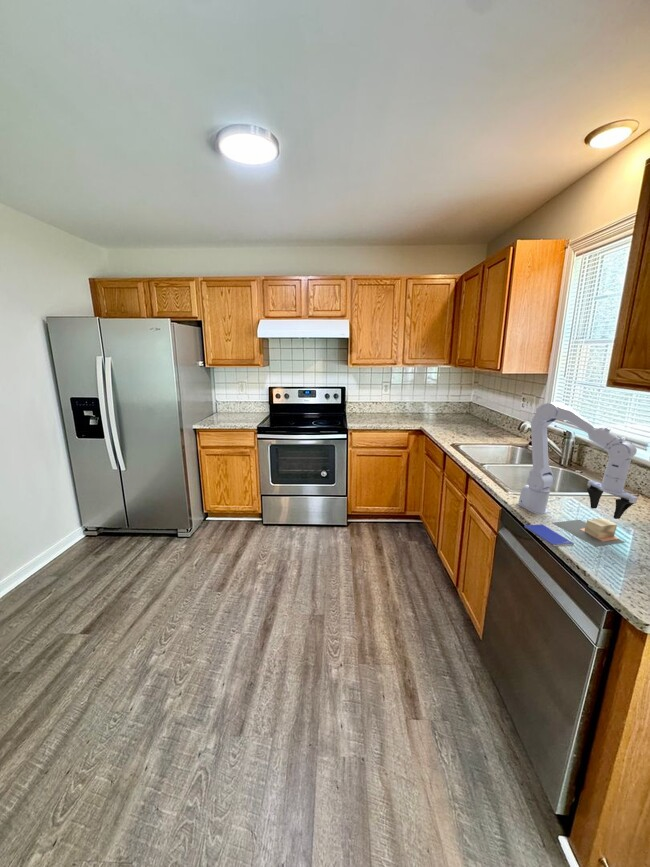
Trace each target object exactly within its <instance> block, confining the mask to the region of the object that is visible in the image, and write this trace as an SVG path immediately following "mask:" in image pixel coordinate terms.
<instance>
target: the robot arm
mask: <svg viewBox="0 0 650 867" xmlns="http://www.w3.org/2000/svg"><path fill="white" fill-rule="evenodd" d="M557 420H559V421H561V420H562V421H567V422H569V423H570V424H572V425H574V426H575V427H577V428H578V429H579V430H582V431H583V432H584V433H586V434H587V435H588V436H587V437H588V439H589V440H590V441H591V442H593V443H595V445H597V446H598V447H599V448H601V449H603V450H604V451H606V452H607V456H608V460H607V463H606V466H605V471H604V474H603V478H602V481H601V482H598V481H595V480H588V481H587V484H586V486H587V489H586V492H587V493H588V497H589V503H590V504H589V505H590V509H593V510H594V509H597V508H598V507H599V502H600V500H601V497H602V495H603V493H607V494H609V495H611V496H615V497H618V499H617V498H616V499H615V510H614V513H613V519H615V520H619V519H621V517H623V514H624V513H625V512H626V511H627V509H629V508H630V507H631V506H632V505H634V504H636V503H637V501H638V497H637V496H636V495H633V494H631V493H628V492H627V491H625V490H624V488H625V485H626V480H627V477H628V473H629V471H630V468H631V467H630V466H631V462H632V458H633V457H635V456H636V454H637V446H635V444H634V443H632V442H631V441H628V440H625V438H623V437H620V436H617V435H616V434H615V433H613V432H611V428H609V427H604V426H596V425H595V424H593V423H591V422H590V421H589V420H588V419H586V418H585V417H584V416H582V415H581V414H580V413H578V412H577V411H575V410H574V409H573V408H572V407H570V406H568V405H566V404H565V403H564V402H560V401H558V402H557V401H555V402H545V403H542V404H540V405H539V406H538V407H537V408H536V409H535V414H534V416H533V417H532V419H531V421H530V431H531V432H530V434H531V453H532V454H531V455H532V467H531V468H530V470H529V474H528V478H527V480H526V482H527V484H526V485H524V486H522V488H521V490H520V493H519V494H520V495H519V499H518V502H516V505H518V506H520V507H521V508H524V509H525V510H527V511H529V512H531V513H533V514H534V515H537V514H538V515H539V514H541V515H542V514H548V513H552V511H550V510H549V509H547V505H548V500H549V497H550V493H551V487H553V486H554V485H555V483H556V479H555V476H554V474H553V469H552V468H551V467H550V464H549V443H548V426H550V425H551V424H553V422H554V421H557Z"/></svg>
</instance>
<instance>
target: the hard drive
mask: <svg viewBox="0 0 650 867" xmlns="http://www.w3.org/2000/svg"><path fill="white" fill-rule="evenodd" d="M524 528H525V529H527V530H528V531H530V532H531V533H533V534H534V535H536V536H537V537H538V538H540V539H541V540H543V541H545V542H546V543H547V544H548V545H550V546H553V547H558V546H562V547H563V546H572V544H575V543H574V542H572V541H570V540H569V539H567V538H565V537H564V536H562V535H560V534H559V533H557V532H556V531H555V530H553V529H551V528H549V526H548V527H547V525H544V524H529V525H528V524H526V525H524Z"/></svg>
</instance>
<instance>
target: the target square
mask: <svg viewBox="0 0 650 867" xmlns="http://www.w3.org/2000/svg"><path fill="white" fill-rule="evenodd" d="M580 530H582V531H583V532H584V530H585V528H583V529H580ZM585 533H586V532H585ZM587 534H588V533H587ZM589 535H590V534H589ZM591 536H592V535H591ZM593 537H594V536H593ZM595 538H596V537H595ZM597 539H599V540H601V541H610V540H617V539H620V538H619V537H617V536H615V535H614V536H610V537H602V538H597Z"/></svg>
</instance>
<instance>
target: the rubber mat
mask: <svg viewBox="0 0 650 867" xmlns="http://www.w3.org/2000/svg"><path fill="white" fill-rule="evenodd" d="M586 523H587V521H586V522H585V521H584V520H581V519H574V520H566V521H564V520H563V521H556V522H552V524H554V526H557V527H558V528H561V529H563V530H564V531H566V532H568V533H569V534H572V535H574V536H575V537H576V538H579V539H580V540H583V542H585V543H588V544H590V545H592V546H594V547H603V546H611V545H617V544H623V543H624V544H625V543H626V541H624V540H622V539H620V538H619V539H617V540H610V541H601V540H599V539H597V538H595V537H593V536H591V535H589V534H587V533H585V532H583V531H582V530H580V529H583V528H585V527H586Z"/></svg>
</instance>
